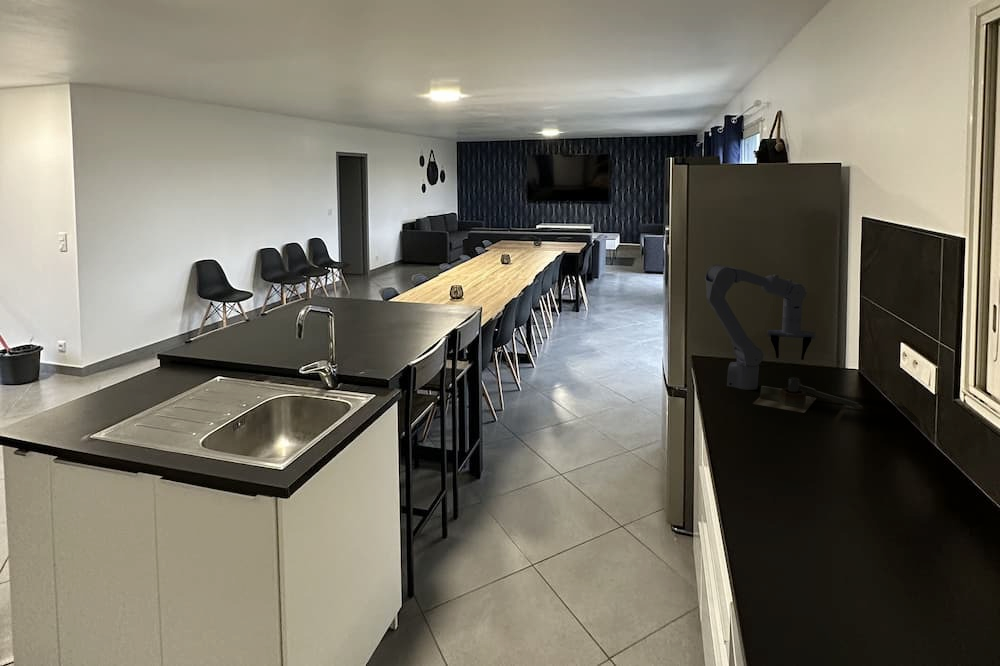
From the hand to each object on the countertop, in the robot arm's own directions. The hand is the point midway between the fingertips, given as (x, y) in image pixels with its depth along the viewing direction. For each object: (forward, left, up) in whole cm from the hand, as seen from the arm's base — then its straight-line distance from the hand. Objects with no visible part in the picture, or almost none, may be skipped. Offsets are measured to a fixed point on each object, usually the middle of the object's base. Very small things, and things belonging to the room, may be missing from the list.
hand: (789, 358), depth 217 cm
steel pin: (+6, -19, -9) cm, 22 cm away
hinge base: (+3, -18, -10) cm, 21 cm away
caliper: (+14, -12, -10) cm, 21 cm away
